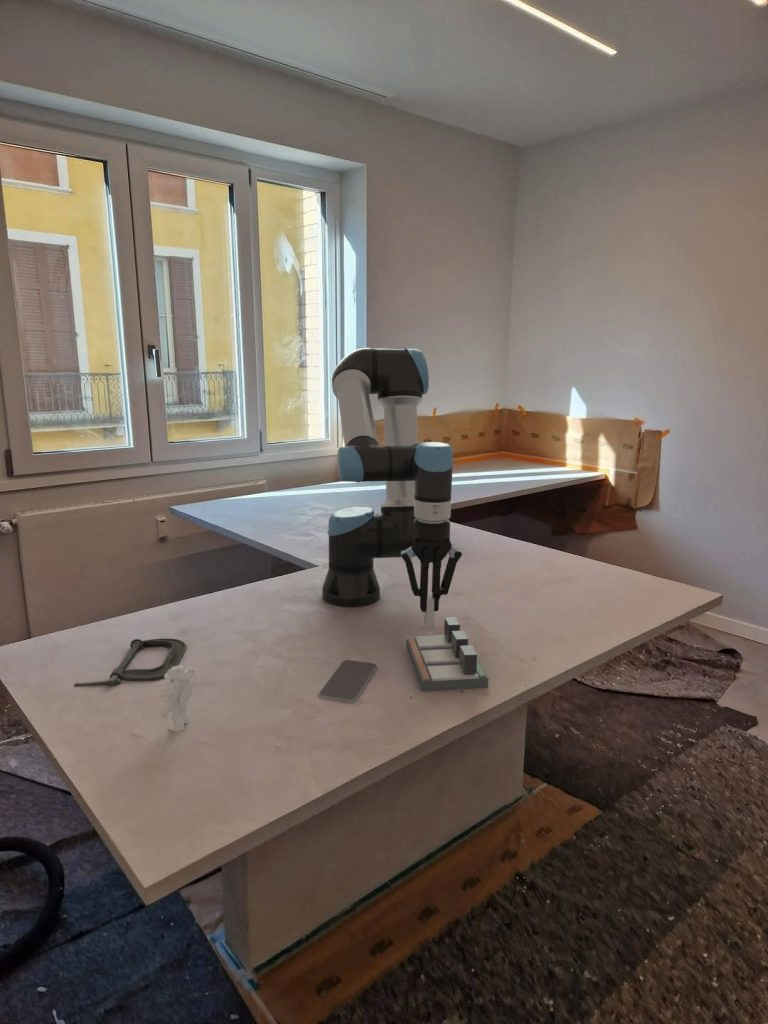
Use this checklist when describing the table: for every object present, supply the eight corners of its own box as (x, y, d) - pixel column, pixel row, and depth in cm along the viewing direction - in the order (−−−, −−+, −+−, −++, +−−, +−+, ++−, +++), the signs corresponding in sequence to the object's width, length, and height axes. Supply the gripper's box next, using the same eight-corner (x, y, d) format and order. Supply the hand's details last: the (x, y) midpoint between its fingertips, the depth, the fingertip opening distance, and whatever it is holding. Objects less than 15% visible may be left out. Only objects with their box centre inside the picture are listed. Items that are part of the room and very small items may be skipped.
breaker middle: (455, 657, 132) (456, 639, 131) (451, 648, 136) (451, 631, 135) (467, 656, 132) (468, 638, 131) (462, 648, 136) (463, 630, 135)
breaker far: (448, 642, 139) (448, 625, 138) (444, 634, 143) (444, 617, 142) (459, 642, 139) (459, 624, 138) (454, 634, 143) (455, 617, 142)
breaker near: (464, 674, 125) (464, 655, 124) (459, 664, 129) (459, 645, 128) (476, 673, 126) (477, 654, 125) (471, 663, 129) (471, 645, 128)
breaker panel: (421, 691, 124) (422, 679, 124) (405, 647, 143) (406, 636, 142) (488, 687, 126) (488, 675, 125) (463, 644, 144) (464, 633, 144)
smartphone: (316, 695, 122) (343, 659, 136) (316, 699, 122) (343, 663, 136) (354, 701, 120) (378, 663, 134) (354, 705, 120) (378, 667, 134)
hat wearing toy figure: (178, 740, 108) (172, 674, 105) (156, 737, 109) (150, 672, 106) (203, 712, 117) (199, 650, 114) (183, 709, 117) (178, 648, 114)
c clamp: (162, 691, 125) (161, 678, 124) (73, 689, 125) (72, 676, 125) (196, 645, 144) (195, 633, 144) (119, 643, 145) (118, 631, 144)
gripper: (403, 524, 129) (401, 633, 135) (467, 523, 131) (462, 630, 137) (397, 514, 137) (396, 618, 143) (458, 513, 138) (454, 616, 144)
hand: (428, 624), depth 140 cm, fingers closed
